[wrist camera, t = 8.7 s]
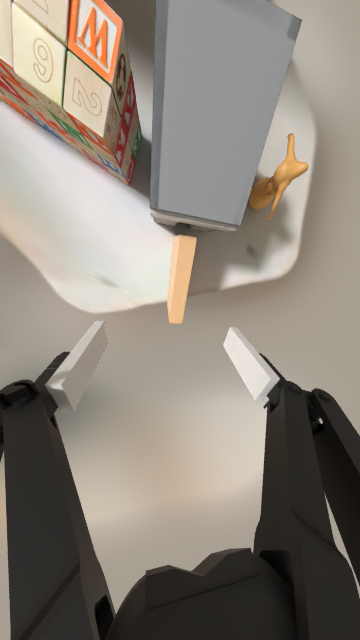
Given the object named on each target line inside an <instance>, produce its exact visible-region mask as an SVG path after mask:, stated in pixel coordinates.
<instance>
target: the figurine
mask: <svg viewBox="0 0 360 640" xmlns="http://www.w3.org/2000/svg"><path fill="white" fill-rule="evenodd" d="M288 137H289V138H288ZM288 137H287V138H288V147H287V156H286V159H285V160H284V161H283V162H282V163H281V164H280V165H279V166H278V168H277V169H276V171H275V173H274V176H272V177H271V178H269V177H266V178H263V179H261V180H259V181H258V182H257V183H256V184H255V185H254V186H253V188H252V190H251V192H250V195H249V203H250V205H251V207H252V208H254V209H262V208H264V207H266V206H267V205H269V204H270V203H271V201H272V200H273V198H274V197H275V196H276V197H275V200H274V203H273V206H272V209H271V212H270V217H269V219H268V220H270V219H271V218H272V217H273V214H274V211H275V209H276V206H277V204H278V202H279V200H280V198H281V196H282V194H283V192H284V190H285V189H286V187H287V186H288V185H289V184H290V183H291V181H292V180H293V179H295V178H297V177H298V176H300V175H301V174H303V173H304V172H305V171H306V170H307V169H308V164H307V163H305V162H299V161H297V160H296V158H295V153H294V134H293V133H291V134H289V135H288ZM268 220H267V221H268Z"/></svg>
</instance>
